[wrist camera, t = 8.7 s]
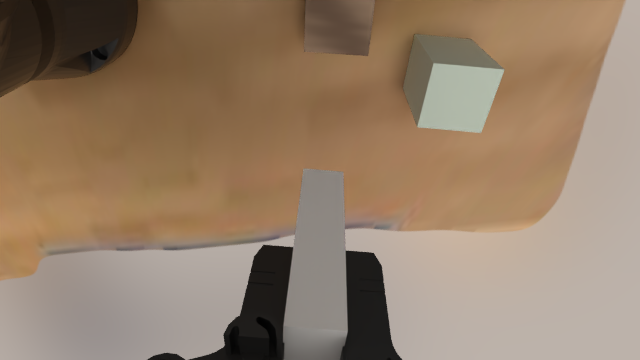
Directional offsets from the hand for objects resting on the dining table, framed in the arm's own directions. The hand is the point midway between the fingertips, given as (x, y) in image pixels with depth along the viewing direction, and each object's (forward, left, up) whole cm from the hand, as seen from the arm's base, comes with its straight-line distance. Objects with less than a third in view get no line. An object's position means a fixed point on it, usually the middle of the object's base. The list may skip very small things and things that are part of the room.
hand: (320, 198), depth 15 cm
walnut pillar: (0, 0, -20) cm, 20 cm away
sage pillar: (+10, -1, -23) cm, 25 cm away
